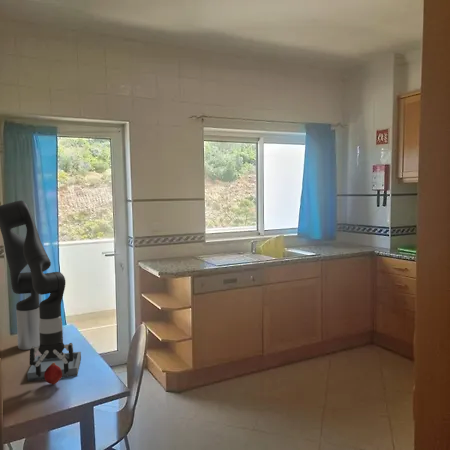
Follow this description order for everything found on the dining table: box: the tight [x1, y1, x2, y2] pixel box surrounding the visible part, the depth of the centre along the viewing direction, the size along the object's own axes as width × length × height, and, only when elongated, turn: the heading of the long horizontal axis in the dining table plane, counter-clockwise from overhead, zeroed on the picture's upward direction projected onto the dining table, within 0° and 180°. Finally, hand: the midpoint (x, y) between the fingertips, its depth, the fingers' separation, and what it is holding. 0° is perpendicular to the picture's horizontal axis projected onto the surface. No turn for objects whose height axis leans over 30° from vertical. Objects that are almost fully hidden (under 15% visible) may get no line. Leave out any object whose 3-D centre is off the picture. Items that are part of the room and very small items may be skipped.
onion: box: [44, 362, 63, 386], centre depth 148 cm, size 6×6×8 cm
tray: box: [26, 351, 82, 382], centre depth 161 cm, size 17×17×3 cm
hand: (52, 374), depth 148 cm, fingers open, 8 cm apart
